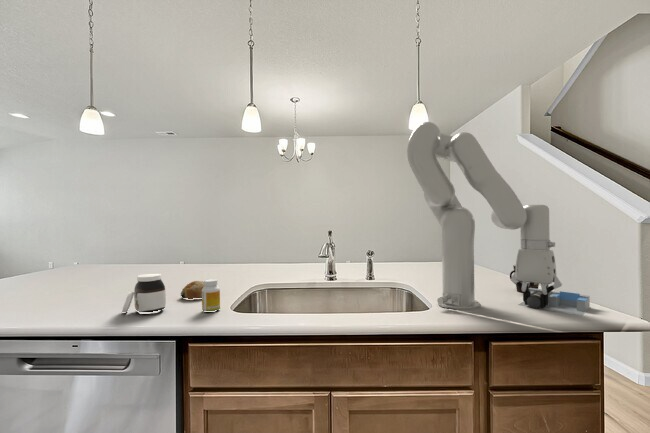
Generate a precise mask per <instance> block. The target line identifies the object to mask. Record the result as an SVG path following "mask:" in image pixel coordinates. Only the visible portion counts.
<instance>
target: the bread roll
mask: <svg viewBox="0 0 650 433" xmlns="http://www.w3.org/2000/svg"><path fill="white" fill-rule="evenodd" d="M204 287H205V285H204V280H203V281H202V280H194V281H191V282H190V283H187V284H186V285H185V286H184V287H183V288H182V291H180V297H181V296H182V297H181V298H182V299H183V298H188V299H193V298H202V289H203V288H204Z"/></svg>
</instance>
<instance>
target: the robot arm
mask: <svg viewBox="0 0 650 433" xmlns="http://www.w3.org/2000/svg"><path fill="white" fill-rule="evenodd" d="M406 154H407V155H406V156H407V161H408V164H409V167H410V169H411V171H412V173H413V175H414V177H415V178H416V180H417V183H418V184H419V186H420V187H421V189H422V192H423V196H424V200H425V202H426V203H427V206H428V207H429V209H430V210H431V213H432V214H433V216H434V217H435V219H436V221H437V222H438V224H439V226H440V227H441V258H442V259H441V262H442V263H441V265H442V266H441V268H442V270H441V272H442V278H441V280H442V296H441V297H438V298H437V300H436V301H437V305H438V306H440V307H444V308H445V309H450V310H453V309H454V310H458V309H459V310H473V309H478V308H479V307H481V303H480V302H479V301H478V300H476V299H475V297H476V296H475V294H476V293H475V231H476V222H475V218H474V215H473V213H472V212H471V211H470V210H469V209H468V208H466V207H463V206H462V204H461V203H460V200H459V199H458V198H457V196H456V189H455V187H454V184H453V183H452V182H451V180H450V178H449V177H448V176H447V174H446V172H445V171H444V169H443V167H442V166H441V163H440V162H439V160H438V159H441V160H443V161H448V162H453V163H456V164H457V166H458V168H459V169H460V171H461V172H462V173H463V175H464V178H465V179H466V181H467V182H468V184H469V185H470V186H471V187H472V188H473V189H474V190H475V191H476V192H478V193H480V195H481V196H482V197H483V198H484V199H485V200H486V202H487V203H488V204H489V206H490V208H491V209H492V213H491V215H490V216H491V222H492V223H493V224H494V225H495V226H496V227H497V228H501V229H504V230H511V231H513V230H514V231H515V230H518V229H520V248H519V249H518V250H517V255H516V260H515V261H516V262H515V264H516V272H515V273H514V272H513V274H512V278H511V279H510V281H511V282H512V283H513V282H514V283H515V284H514V283H513V284H514V285H516V284H517V285H518V286H519V287H520V288H521V290H522V291H523V293H522V296H523V297H522V300H523V301H522V302H524V301H525V305H528V304H527V298H528V297H530V296H531V292H530V291H529V283H538V284H539V285H540V286H541V288H540V289H542V294H541V295H540V302H541V308H544V307H546V305H548V293H549V292H551V291H555V290H556V289H559V288H561V287H563V283H562V282H561V281H560V279H559V278H558V276H557V266H556V258H555V253H554V250H552V249H551V248H555V247H556V242H553V241H551V238H550V208H549V206H548V205H547V204H546V205H545V204H525V205H523V203H522V202H521V200H520V199H519V197H518V196H517V194H516V193H515V191H514V190H513V188H512V187H511V186H510V184H509V183H508V182H506V180H505V179H504V177H503V176H502V175H501V174H500V173H499V172H498V171H497V170H496V168H495V166H494V165H493V163H492V162H491V160H490V159H489V157H488V155H487V154H486V153H485V151H484V149H483V148H482V145H480V143H479V141H478V140H477V138H476V137H475V136H474V135H473V134H472V133H471V132H466V131H464V132H458V133H457V134H455V135H454V136H453V135H449V134H445V133H441V130H440V128H439V126H438V125H437V124H435V123H434V122H431V121H423V122H421V123H420V124H418V125H417V126H416V127H415V128H414V130H413V131H412V133H411V135H410V137H409V139H408V142H407V148H406ZM521 281H523V282H521ZM549 285H550V286H549Z"/></svg>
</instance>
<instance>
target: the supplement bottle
mask: <svg viewBox="0 0 650 433" xmlns="http://www.w3.org/2000/svg"><path fill="white" fill-rule="evenodd" d="M203 282H204V285H205V287H204V288H203V289H202V300H201V308H202V309H201V310H203V311H215V310H219V309H220V310H221V289H220V286H218V279H216V278H215V279H214V278H213V279H212V278H211V279H206V280H205V279H204V280H203ZM220 310H219V311H220ZM203 311H202V312H203Z"/></svg>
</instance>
